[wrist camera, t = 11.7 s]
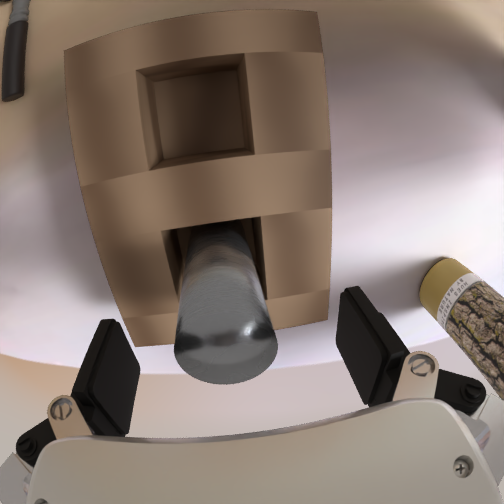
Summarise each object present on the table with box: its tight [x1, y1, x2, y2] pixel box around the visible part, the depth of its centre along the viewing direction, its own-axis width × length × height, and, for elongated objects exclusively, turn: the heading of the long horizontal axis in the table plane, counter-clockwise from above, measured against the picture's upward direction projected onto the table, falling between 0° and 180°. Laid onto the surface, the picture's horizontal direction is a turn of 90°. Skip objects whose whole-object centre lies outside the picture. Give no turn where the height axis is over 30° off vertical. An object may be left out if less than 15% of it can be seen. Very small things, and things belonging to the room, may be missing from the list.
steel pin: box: [174, 219, 278, 384], centre depth 16 cm, size 4×4×12 cm
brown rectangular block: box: [64, 9, 332, 347], centre depth 17 cm, size 14×20×6 cm
